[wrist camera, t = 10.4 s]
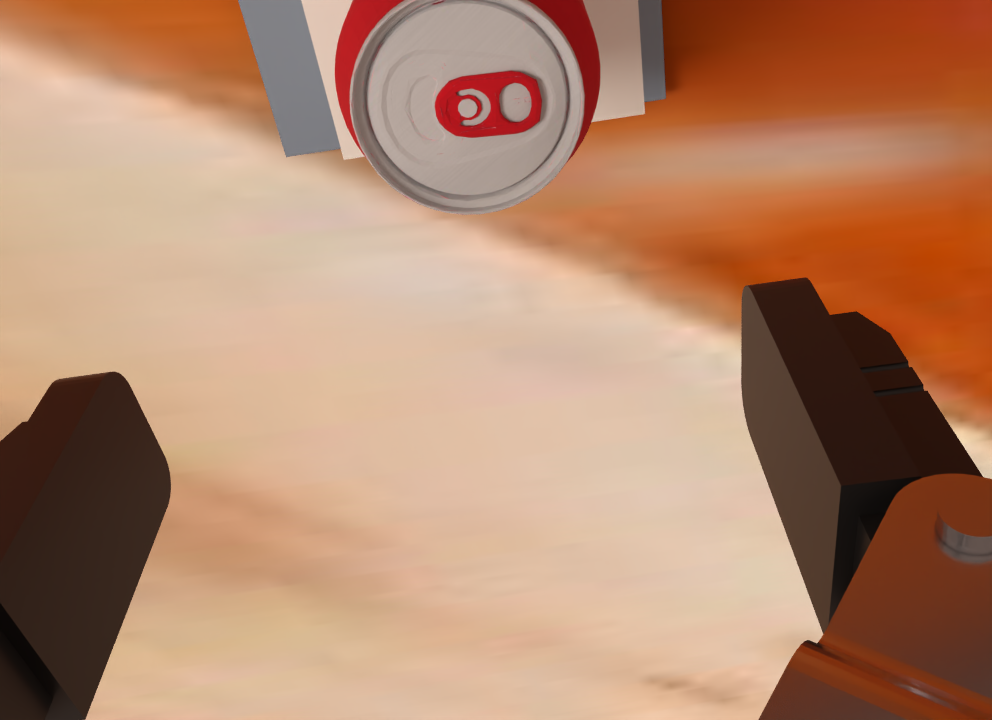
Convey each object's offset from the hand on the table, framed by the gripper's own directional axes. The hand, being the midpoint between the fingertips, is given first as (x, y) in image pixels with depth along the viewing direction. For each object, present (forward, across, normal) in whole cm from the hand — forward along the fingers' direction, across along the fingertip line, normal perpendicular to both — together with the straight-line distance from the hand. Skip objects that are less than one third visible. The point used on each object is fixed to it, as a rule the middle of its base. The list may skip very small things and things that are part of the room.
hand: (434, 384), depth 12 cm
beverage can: (+22, 0, 0) cm, 22 cm away
